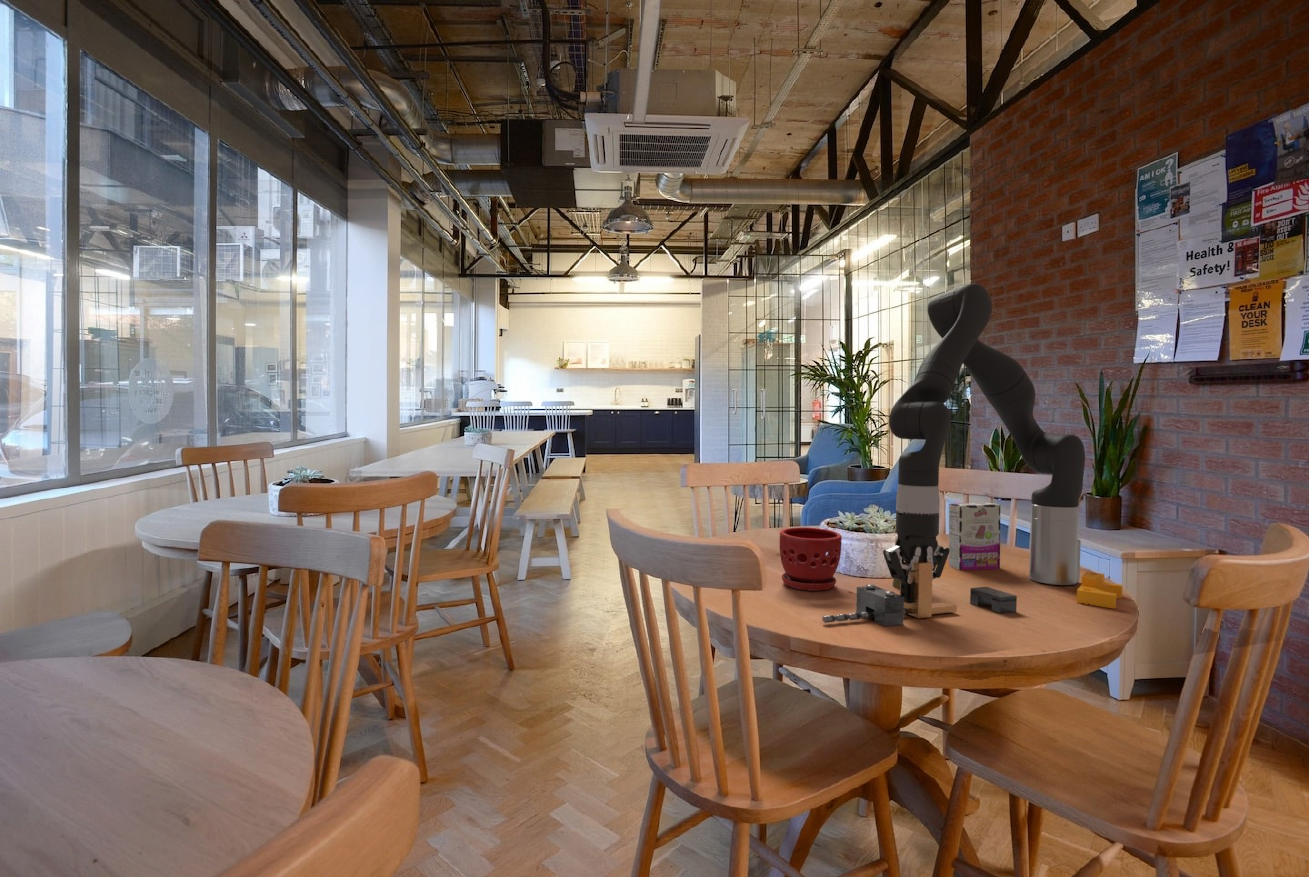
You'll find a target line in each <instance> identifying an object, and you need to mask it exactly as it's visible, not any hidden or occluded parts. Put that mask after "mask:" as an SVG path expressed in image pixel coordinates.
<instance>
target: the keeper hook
mask: <svg viewBox="0 0 1309 877" xmlns="http://www.w3.org/2000/svg"><path fill="white" fill-rule="evenodd" d="M969 590H970V591H969V593H970V595H969V597H970V598H969V600H970V601H969V604H971V605H973V606H977V607H983V606H991V611H992V612H994V613H997V614H1009V613H1010V614H1011V613H1016V612H1017V602H1018V601H1017V600H1018V595H1015V594H1013V593H1009V592H1006V591H1002V590H1000V589H995V588H992V587H988V586H980V587H970V589H969Z"/></svg>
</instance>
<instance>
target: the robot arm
mask: <svg viewBox="0 0 1309 877" xmlns="http://www.w3.org/2000/svg"><path fill="white" fill-rule="evenodd" d="M992 313H993V302H992V297H991V295H990V293H989V292H988V290H987V289H986V288H985V287H984V286H983V285H981V284H980V283H976V282H973V283H967V284H964V285H961V286H957V287H955V288H953V289H950V290H947V291H946V292H942V293H940V294H938V295H936V296H934V297H932V298H931V299H930V300H929V301H928V304H927V315H928V318H929V321H930V323H931V325H932V327H933V328H934V330H935V331H936V333H937V334H938V336H939V337H940V338H941V340H939V342H937V343H936V344H935V345H934V347H932V349H931V350H929V352H928V353H927V354H926V356H925V357H924V358H923V360H922V362H921V364H920V365H919V368H918V370H917V373H916V375H915V378H914V380H913V383H912V384H911V385H910V386H909V387H908V388H907V389H906V391H904V393H903V394H901V396H900V397H899V398H898V399H897V401H896V402H895V403H894V405H893V406H892V409H891V410H890V413H889V418H888V427H889V430H890V431H891V433H892V435H893V436H894V437H896V438H898V439H901V440H920V441H921V440H922V441H923V440H925V441H924V444H923V446H922V447H921V449H920V450H916V451H910V452H905V453H903V454H901V455H900V456H899V458H898V471H897V475H898V476H897V491H896V499H895V502H896V503H895V532H896V534H897V539H896V540H897V541H896V540H895V543H896V544H894V546H893V547H891V548H884V549H883V550H882V554H883V558H884V560H885V563H886V565H887V569H888V570H889V574H890V577H891V578H892V579H898V580H900V582H901V596H904V602H906V603H908V604H910V603H913V584H912V582H913V578H914V572H915V571H916V563H918V562H921V561H926V562H932V563H933V570H932V582H933V581H934V580H935V579H936V578H937V579H940V578H941V576H942V573H943V570H944V568H945V565H946V562H947V560H948V559H949V552H950V549H949V547H945V546H941V545H939V542H938V540H937V537H938V536H939V534H940V511H941V510H940V504H941V503H940V502H941V498H940V491H939V490H940V489H939V488H940V487H939V485H940V484H939V482H940V481H939V480H940V476H939V474H940V464H941V463H940V461H941V458H942V454H943V450H944V447H945V446H944V445H945V443H946V440H947V436H948V434H949V432H950V427H951V422H952V417H951V416H952V415H951V411H950V409H949V408H948V406H947V405H946V404H945V403H946V402H948V400H949V399H950V397H951V395H952V391H953V389H954V386H955V385H956V384H955V383H956V380H957V378H958V375H959V373H960V370H961V368H962V365H963V366H964V367H965V368H966V369H967V371H968V373H970V375H971V376H972V378H973V380H974V381H975V383H976V385H977V386H978V388H979V389H980V391H981V392H982V394H983V395H984V397H985V398H986V400H987V402H988V403H989V404H990V405H991V406H992V407H993V409H994V411H995V412H996V413H997V415H998V416H999V418H1000V420H1001V422H1002V424H1004V426H1005V428H1006V429H1007V430H1008V432H1009V435H1010V436H1011V438H1012V440H1013V441H1014V443H1015V447H1017V450H1018V451H1019V454H1020V455H1021V457H1022V459H1023V461H1024V463H1025V464H1026V466H1027V467H1028V468H1029V469H1031V471H1033V472H1035V473H1037V474H1041V475H1042V474H1043V475H1052V476H1051V481H1050V483H1048V485H1046V486H1045V487H1043V488H1039V489H1035V490H1034V491H1032V494H1031V498H1030V499H1031V500H1030V501H1031V504H1030V505H1031V506H1030V508H1031V509H1030V510H1031V512H1030V537H1029V538H1030V540H1029V541H1030V545H1029V547H1030V548H1029V571H1028V572H1029V574H1028V579H1030V580H1032V581H1033V582H1037V583H1043V584H1047V585H1055V586H1057V585H1058V586H1073V585H1076V584H1077V583H1080V578H1081V577H1080V574H1081V572H1080V571H1081V541H1082V540H1080V539H1079V538H1078V536H1079V509H1080V508H1079V507H1080V506H1079V504H1080V498H1081V496H1082V493H1083V487H1084V477H1085V475H1084V474H1085V464H1086V451H1085V445H1084V443H1083V441H1082V439H1081V438H1080V437H1079V436H1078V435H1075V434H1069V433H1068V434H1067V433H1046V432H1045V431H1044V430H1043V429H1042V428H1041V427H1040V425H1039V424H1038V423H1037V421H1036V419H1035V417H1034V407H1035V403H1036V389H1035V386H1034V383H1033V382H1032V380H1031V378H1030V377H1029V375H1028V374H1027V373H1026V371H1025V369H1024V368H1023V366H1022V365H1021V364H1020V363H1019V362H1018V361H1017V359H1015V358H1013V357H1012V356H1009V355H1007V354H1005V353H1004V352H1002V351H1000V350H998V349H995V348H993V347H991V346H989V345H988V344H985V342H983V341H981V340H980V339H979V337H981V335H982V333H983V331H984V329H986V327H987V325H988V323H989V322H990V319H991V317H992ZM899 554H900V556H901V557H900V556H899ZM899 558H900V561H899ZM906 563H908V564H910V566H909V565H906ZM906 574H907V576H906Z"/></svg>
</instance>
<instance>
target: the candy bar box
mask: <svg viewBox="0 0 1309 877" xmlns="http://www.w3.org/2000/svg"><path fill="white" fill-rule="evenodd" d="M948 548H949V549H950V552H949V555H948V566H949V567H951V568H953V569H956V570H959V571H972V570H973V571H975V570H977V571H978V570H993V569H997V570H998V569H1000V568H1001V504H999V503H998V504H997V503H995V502H994V503H993V502H966V503H965V502H964V503H962V502H961V503H949V504H948Z"/></svg>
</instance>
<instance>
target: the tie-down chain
mask: <svg viewBox="0 0 1309 877" xmlns="http://www.w3.org/2000/svg"><path fill="white" fill-rule="evenodd" d="M906 565H909V566H910V564H908V563H906ZM932 570H933V563H932V562H926V561H921V562H918V563H916V571H915V572H914V578H913V582H912V584H913V603H910V604H908V603H906V602H904V616H907V615H909V616H912V617H913V618H916V619H924V618H931V617H932V615H938V614H947V613H957V611H958V610H957V608H958V606H957V605H956V604H955V603H954V604H953V603H950V602H938V603H936V602H935V603H933V600H932V599H933V598H932V597H933V581H932ZM906 576H907V574H906ZM899 595H901V582H900V589H899ZM860 619H862V620H868V619H875V611H874V612H873V613H872V612H862V613H861V614H860V613H856V612H851V613H848V614H846V613H842V614H841V613H840V614H836V615H834V614H832V615H824V616H822V618H821V620H822V622H823V623H825V624H827V623H835V622H848V620H849V621H858V620H860Z"/></svg>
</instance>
